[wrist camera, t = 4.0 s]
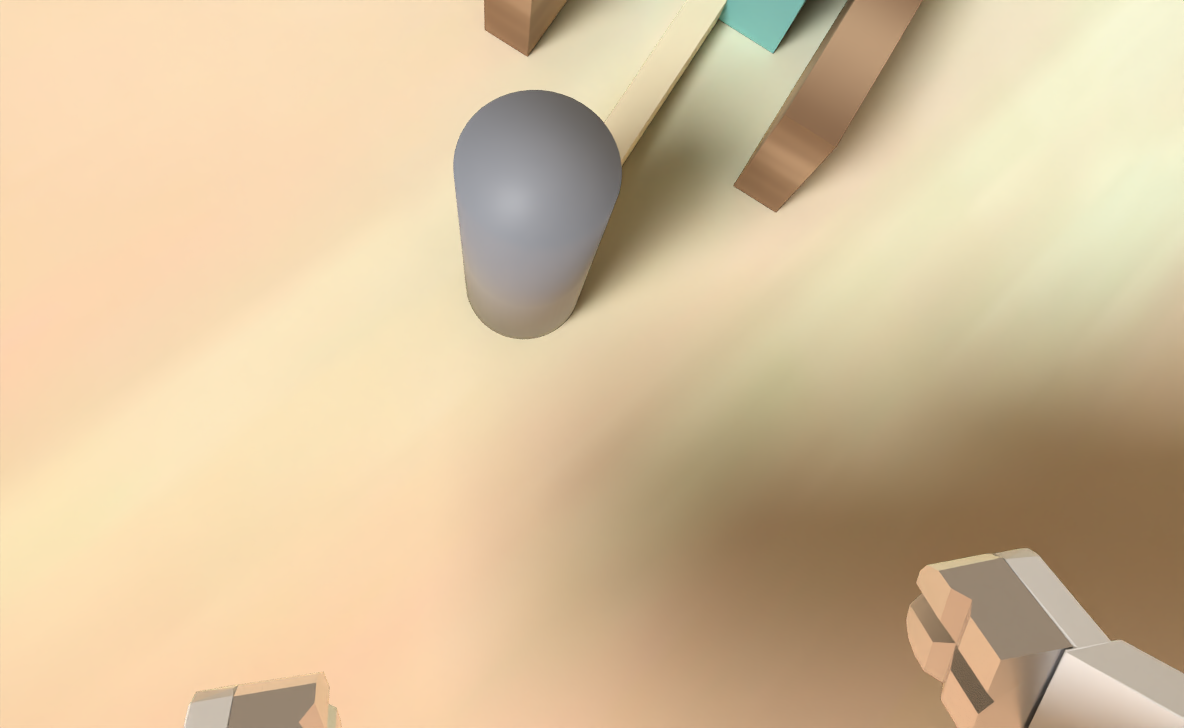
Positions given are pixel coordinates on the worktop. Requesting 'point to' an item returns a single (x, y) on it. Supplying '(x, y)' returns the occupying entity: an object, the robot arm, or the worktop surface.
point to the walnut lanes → (813, 108)
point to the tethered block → (568, 173)
